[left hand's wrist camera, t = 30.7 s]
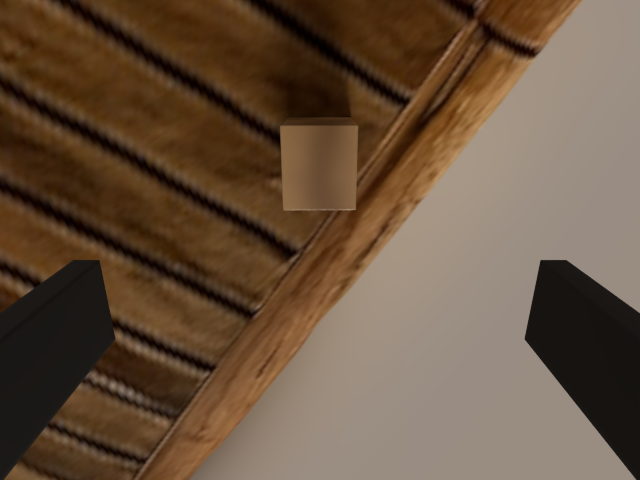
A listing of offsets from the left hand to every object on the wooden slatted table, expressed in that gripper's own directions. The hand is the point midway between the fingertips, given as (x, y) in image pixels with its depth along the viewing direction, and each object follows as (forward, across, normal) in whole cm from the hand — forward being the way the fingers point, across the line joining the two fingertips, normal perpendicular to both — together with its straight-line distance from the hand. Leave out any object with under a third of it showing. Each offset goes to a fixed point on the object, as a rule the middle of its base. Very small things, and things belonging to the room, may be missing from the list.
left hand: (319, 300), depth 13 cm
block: (+27, 0, 0) cm, 27 cm away
